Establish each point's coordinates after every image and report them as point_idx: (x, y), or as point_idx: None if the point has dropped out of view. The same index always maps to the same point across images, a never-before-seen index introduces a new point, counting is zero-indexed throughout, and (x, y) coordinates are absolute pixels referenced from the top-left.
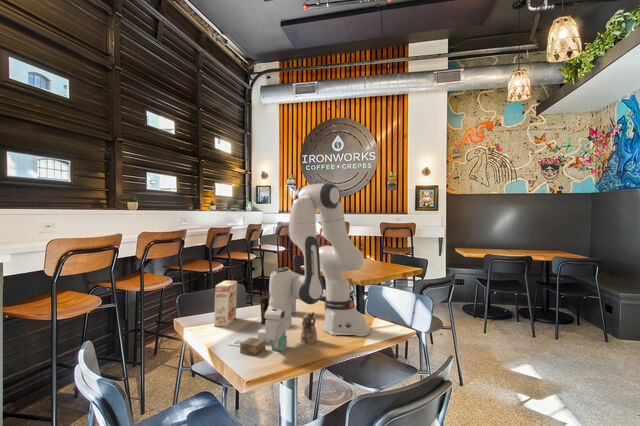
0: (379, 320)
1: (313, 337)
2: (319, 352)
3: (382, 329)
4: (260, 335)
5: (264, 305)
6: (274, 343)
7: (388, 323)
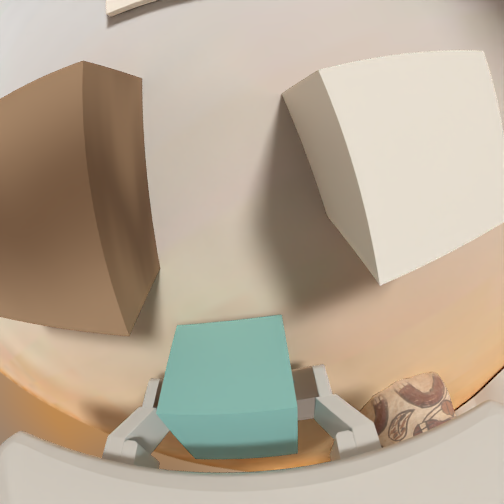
0: None
1: None
2: (272, 459)
3: None
4: (319, 124)
5: None
6: (144, 403)
7: None
